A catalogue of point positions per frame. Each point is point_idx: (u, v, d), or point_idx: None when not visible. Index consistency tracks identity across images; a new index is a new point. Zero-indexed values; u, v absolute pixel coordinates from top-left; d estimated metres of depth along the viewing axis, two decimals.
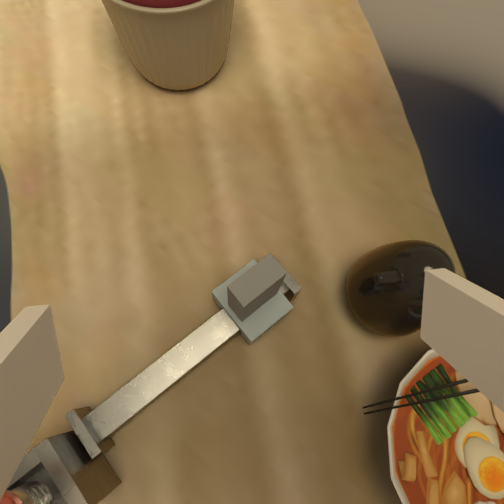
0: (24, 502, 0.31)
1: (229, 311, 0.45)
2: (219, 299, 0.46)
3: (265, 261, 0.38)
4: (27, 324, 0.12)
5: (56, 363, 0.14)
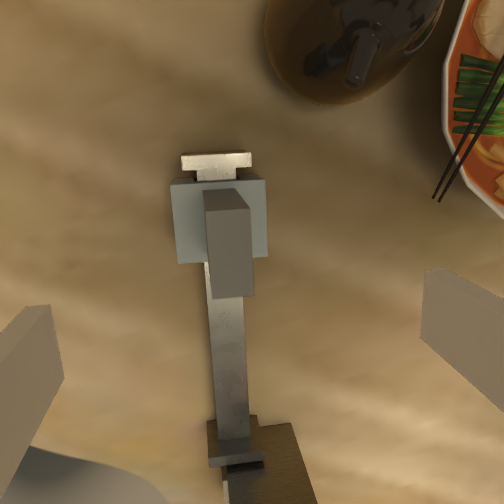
0: None
1: None
2: (193, 260, 0.32)
3: (213, 226, 0.22)
4: (27, 325, 0.12)
5: (56, 363, 0.14)
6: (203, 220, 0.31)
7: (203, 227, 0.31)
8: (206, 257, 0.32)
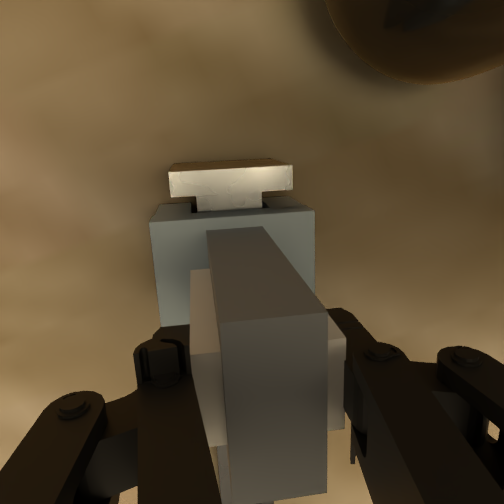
0: None
1: None
2: None
3: (238, 356, 0.09)
4: (207, 281, 0.15)
5: None
6: None
7: None
8: None
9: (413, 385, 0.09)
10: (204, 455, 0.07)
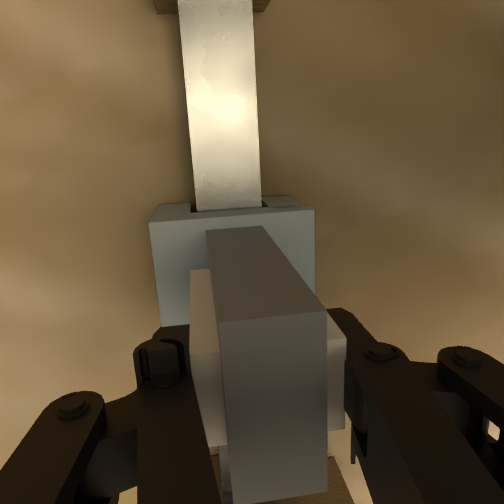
0: None
1: None
2: None
3: (237, 355, 0.09)
4: (206, 281, 0.15)
5: None
6: None
7: None
8: None
9: (413, 385, 0.09)
10: (204, 455, 0.07)
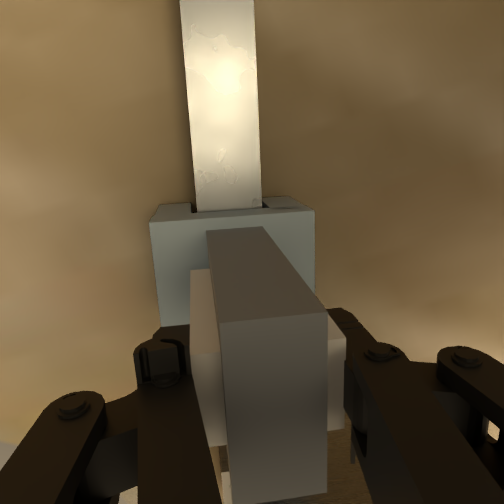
0: None
1: None
2: None
3: (238, 355, 0.09)
4: (206, 281, 0.15)
5: None
6: None
7: None
8: None
9: (413, 385, 0.09)
10: (204, 455, 0.07)
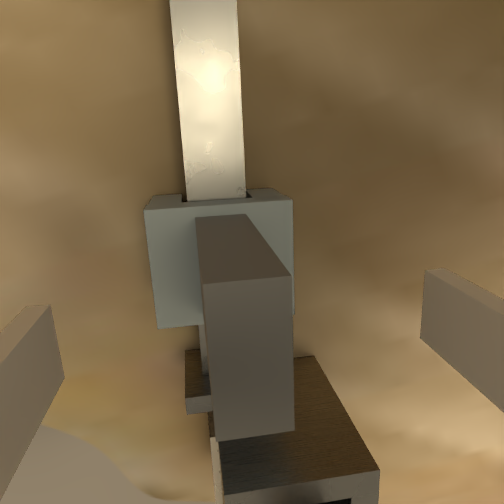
0: None
1: None
2: (182, 323, 0.21)
3: (218, 312, 0.11)
4: (27, 324, 0.12)
5: (56, 363, 0.14)
6: (197, 263, 0.20)
7: (197, 274, 0.20)
8: (201, 318, 0.21)
9: None
10: None
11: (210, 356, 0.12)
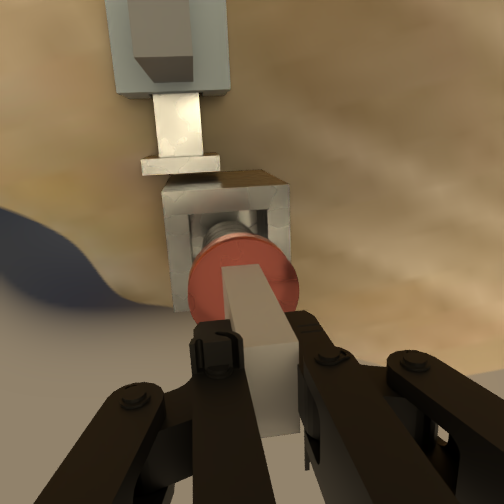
0: None
1: (165, 88, 0.26)
2: (137, 89, 0.26)
3: None
4: (240, 278, 0.15)
5: None
6: None
7: None
8: (152, 85, 0.26)
9: (363, 388, 0.09)
10: (257, 448, 0.07)
11: None
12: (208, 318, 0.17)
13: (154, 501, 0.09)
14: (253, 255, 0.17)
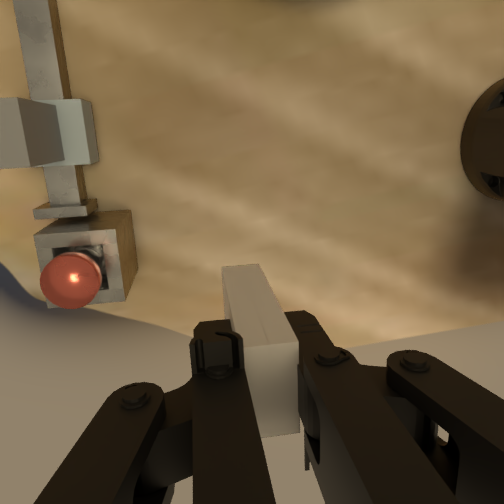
0: None
1: (46, 164, 0.40)
2: None
3: None
4: (240, 278, 0.15)
5: None
6: None
7: None
8: None
9: (363, 388, 0.09)
10: (257, 448, 0.07)
11: None
12: (52, 294, 0.35)
13: (154, 501, 0.09)
14: (72, 263, 0.34)
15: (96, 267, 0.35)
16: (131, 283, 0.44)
